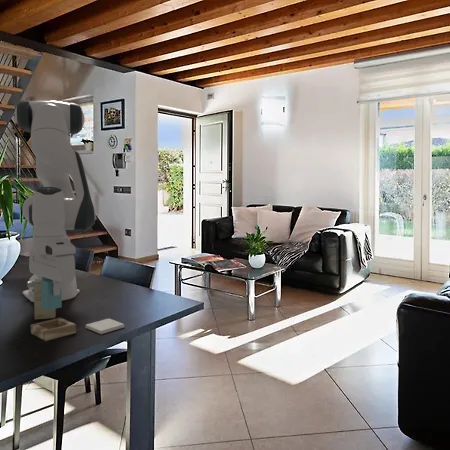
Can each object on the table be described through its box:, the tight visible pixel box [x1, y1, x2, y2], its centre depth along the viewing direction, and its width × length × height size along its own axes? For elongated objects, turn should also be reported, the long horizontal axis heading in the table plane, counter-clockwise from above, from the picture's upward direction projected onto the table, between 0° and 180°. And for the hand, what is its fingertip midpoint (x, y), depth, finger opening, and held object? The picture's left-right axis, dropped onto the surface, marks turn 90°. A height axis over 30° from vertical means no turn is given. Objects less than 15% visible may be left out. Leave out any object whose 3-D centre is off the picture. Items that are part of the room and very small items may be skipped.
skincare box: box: [33, 279, 57, 320], centre depth 139 cm, size 6×4×12 cm
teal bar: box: [41, 279, 63, 310], centre depth 123 cm, size 4×4×8 cm
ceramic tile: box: [85, 318, 125, 335], centre depth 129 cm, size 8×8×1 cm
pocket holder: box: [30, 317, 77, 342], centre depth 124 cm, size 9×9×2 cm
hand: (51, 293), depth 123 cm, fingers closed on teal bar, 4 cm apart
